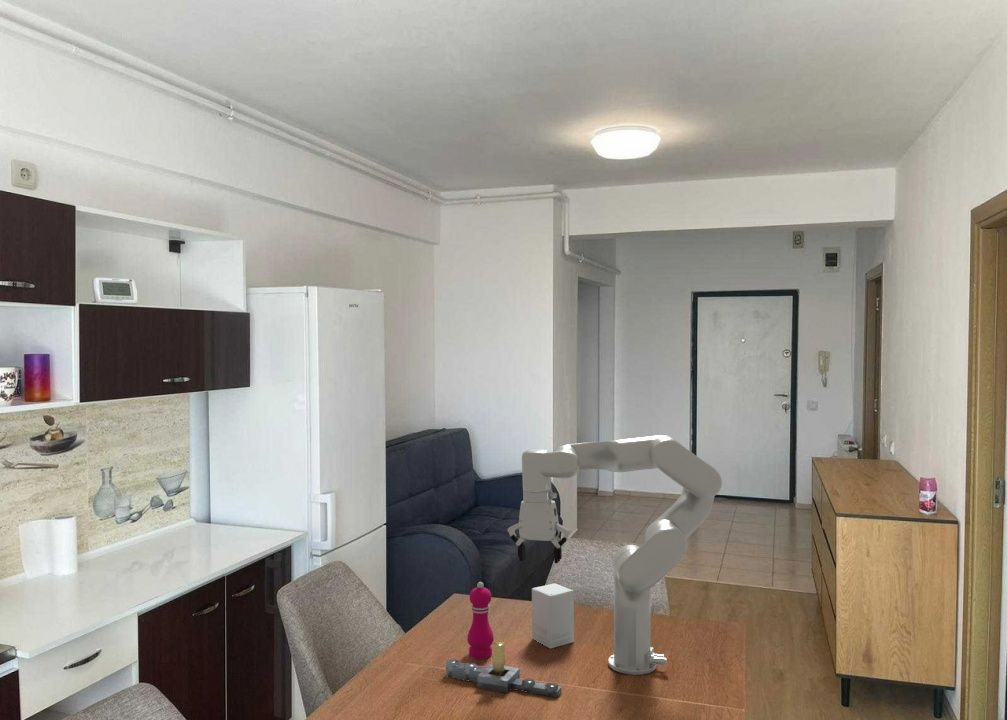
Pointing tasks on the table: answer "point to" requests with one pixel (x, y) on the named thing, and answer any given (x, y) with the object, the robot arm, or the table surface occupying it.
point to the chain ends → (499, 678)
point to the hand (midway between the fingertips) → (539, 560)
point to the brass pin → (499, 659)
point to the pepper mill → (480, 623)
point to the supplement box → (553, 615)
